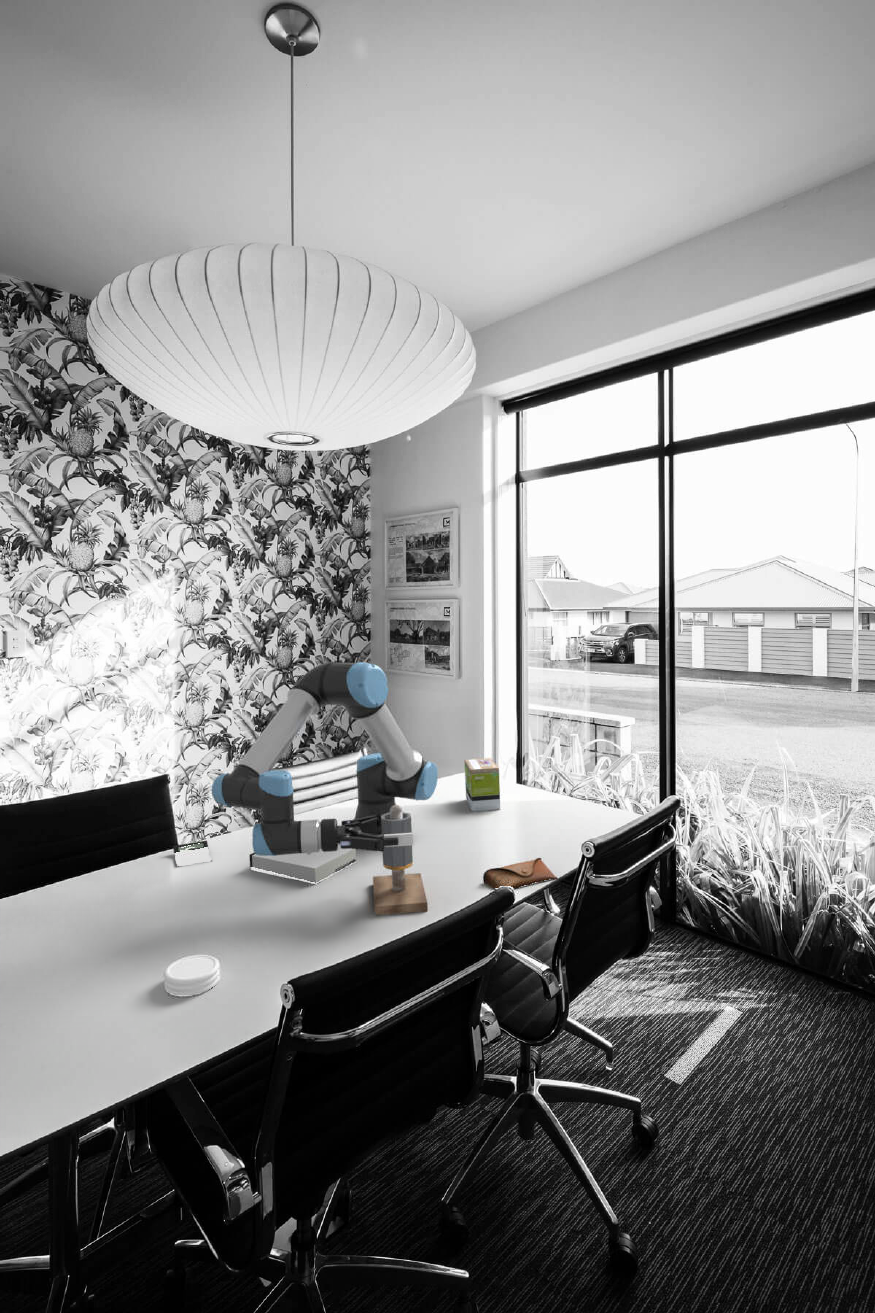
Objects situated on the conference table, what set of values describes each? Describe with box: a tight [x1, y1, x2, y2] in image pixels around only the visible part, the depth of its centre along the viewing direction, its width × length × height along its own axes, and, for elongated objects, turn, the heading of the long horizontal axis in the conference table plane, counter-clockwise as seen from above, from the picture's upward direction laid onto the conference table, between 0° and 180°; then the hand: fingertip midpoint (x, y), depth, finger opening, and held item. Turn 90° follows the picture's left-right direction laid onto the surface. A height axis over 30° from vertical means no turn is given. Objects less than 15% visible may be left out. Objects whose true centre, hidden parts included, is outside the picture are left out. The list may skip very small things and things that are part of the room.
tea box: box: [464, 757, 501, 812], centre depth 248 cm, size 15×10×15 cm, turn 6°
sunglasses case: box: [482, 857, 557, 890], centre depth 180 cm, size 18×7×7 cm, turn 119°
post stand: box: [372, 804, 429, 916], centre depth 171 cm, size 12×18×22 cm, turn 6°
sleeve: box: [381, 811, 414, 867], centre depth 171 cm, size 7×7×11 cm
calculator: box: [172, 840, 209, 854], centre depth 204 cm, size 9×12×3 cm
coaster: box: [163, 954, 221, 995], centre depth 135 cm, size 10×10×4 cm
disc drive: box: [249, 844, 357, 883], centre depth 194 cm, size 18×22×5 cm
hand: (410, 829), depth 171 cm, fingers open, 13 cm apart
